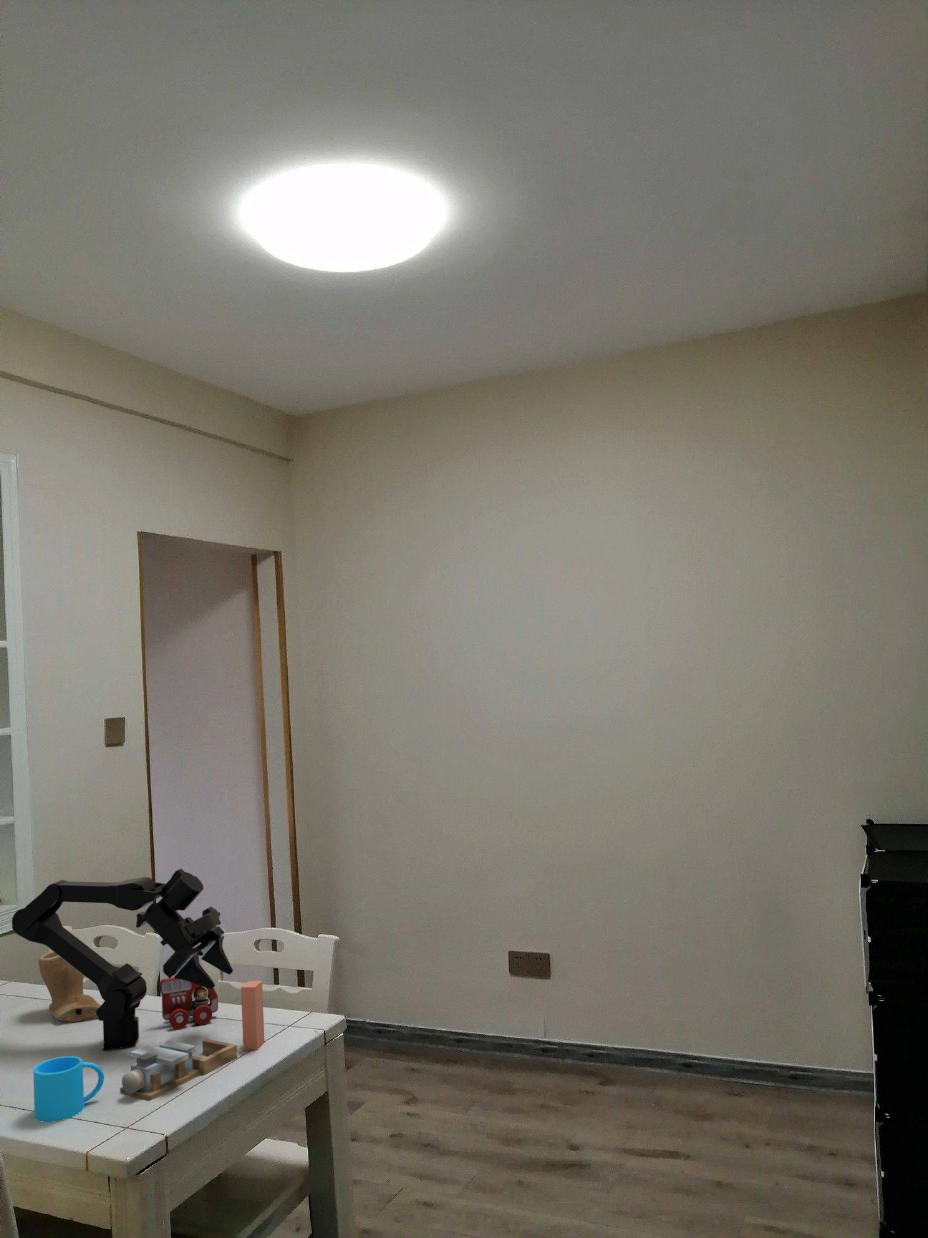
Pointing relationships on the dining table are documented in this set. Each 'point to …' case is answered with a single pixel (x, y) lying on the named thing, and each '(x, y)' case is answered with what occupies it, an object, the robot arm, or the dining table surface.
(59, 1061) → the mug
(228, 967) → the robot arm
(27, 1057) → the dining table surface
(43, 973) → the tan hollow boot shape
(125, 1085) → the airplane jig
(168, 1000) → the toy fire truck
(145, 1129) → the dining table surface
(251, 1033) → the salmon pink box
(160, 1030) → the dining table surface
